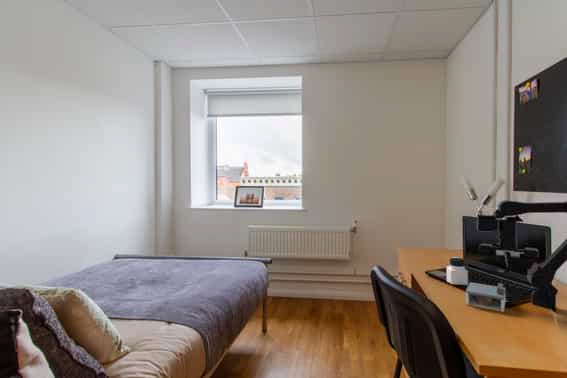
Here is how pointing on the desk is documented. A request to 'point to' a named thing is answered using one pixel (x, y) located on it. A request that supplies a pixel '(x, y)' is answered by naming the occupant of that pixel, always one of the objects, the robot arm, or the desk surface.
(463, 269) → the medicine bottle
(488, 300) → the letter cube
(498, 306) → the box
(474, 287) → the slate lid
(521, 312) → the desk surface
